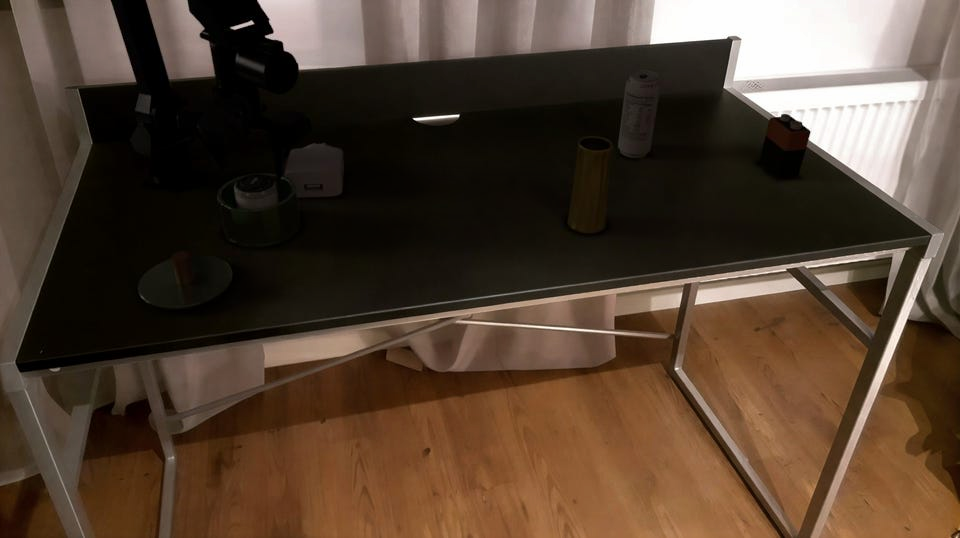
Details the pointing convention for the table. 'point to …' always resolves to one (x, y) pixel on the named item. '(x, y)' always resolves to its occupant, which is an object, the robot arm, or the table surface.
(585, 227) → the vase
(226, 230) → the tin
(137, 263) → the table surface
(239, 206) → the camera lens
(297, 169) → the charger
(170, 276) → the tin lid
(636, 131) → the energy drink can
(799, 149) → the battery
